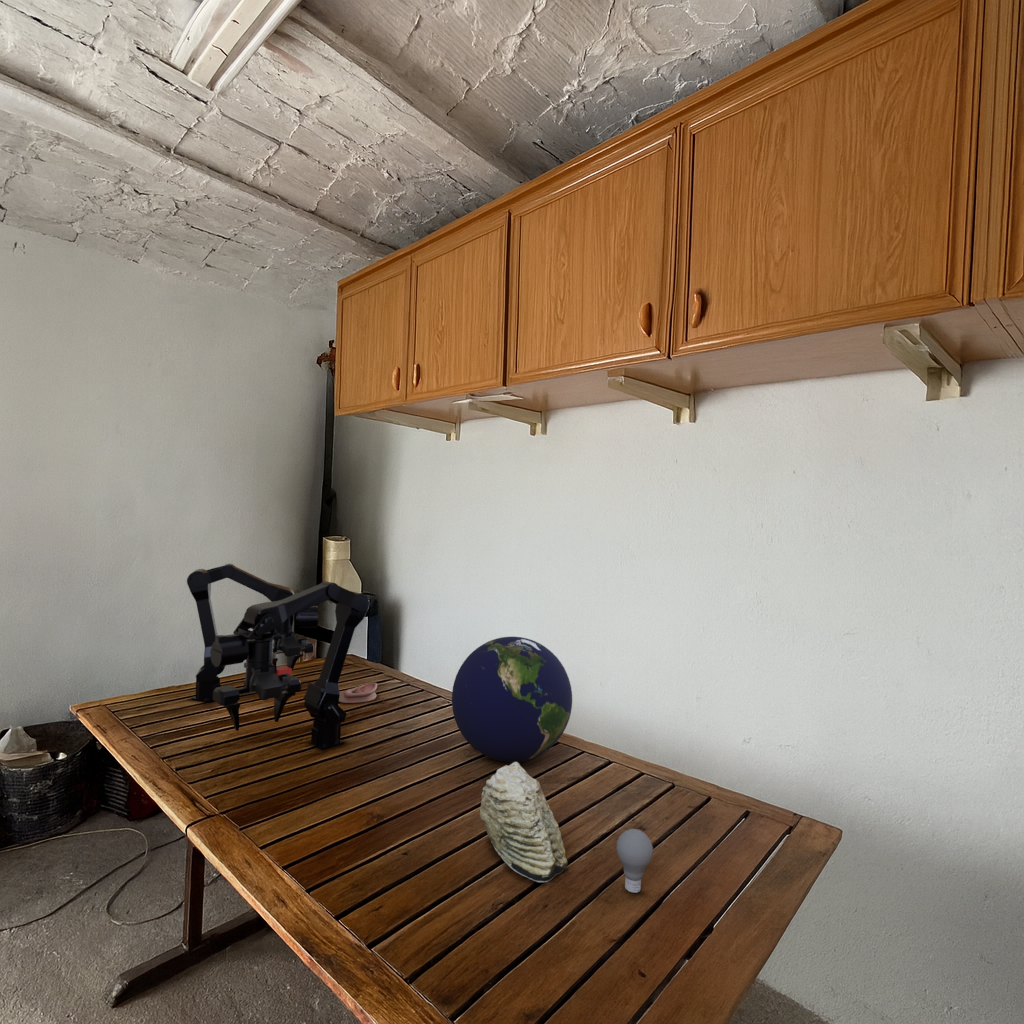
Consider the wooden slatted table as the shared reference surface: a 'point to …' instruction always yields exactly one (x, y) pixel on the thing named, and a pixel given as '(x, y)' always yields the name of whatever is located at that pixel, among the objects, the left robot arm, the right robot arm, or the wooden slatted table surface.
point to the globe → (512, 699)
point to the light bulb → (634, 857)
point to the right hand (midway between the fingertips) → (257, 725)
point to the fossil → (522, 824)
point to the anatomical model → (359, 694)
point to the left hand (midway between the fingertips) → (281, 677)
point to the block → (283, 670)
